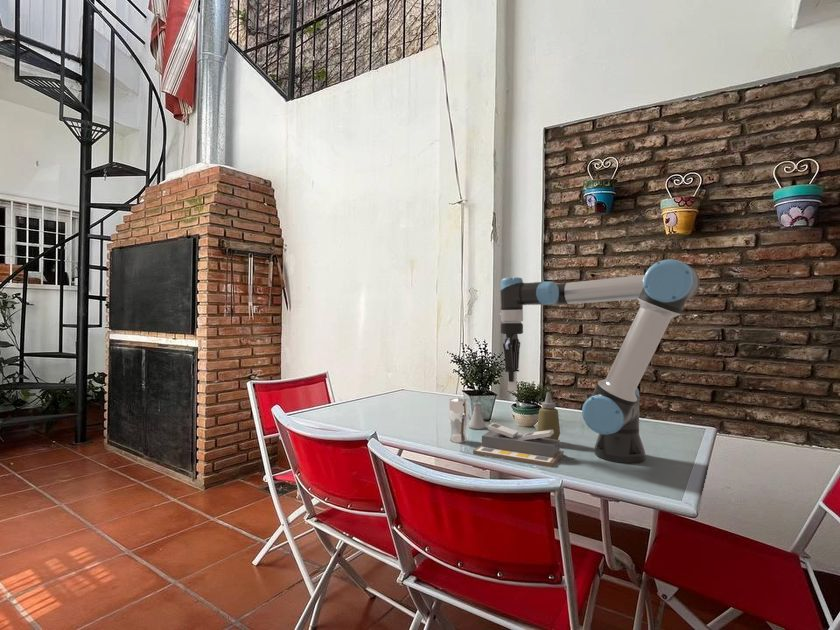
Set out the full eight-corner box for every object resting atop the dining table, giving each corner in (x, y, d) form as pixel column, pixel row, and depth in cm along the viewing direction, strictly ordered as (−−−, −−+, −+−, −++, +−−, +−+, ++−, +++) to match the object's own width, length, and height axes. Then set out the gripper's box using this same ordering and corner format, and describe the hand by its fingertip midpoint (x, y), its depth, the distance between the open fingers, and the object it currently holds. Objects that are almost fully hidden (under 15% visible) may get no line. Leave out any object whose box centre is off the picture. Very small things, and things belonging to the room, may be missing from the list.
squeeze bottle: (563, 442, 166) (563, 392, 166) (556, 447, 159) (556, 395, 159) (541, 438, 170) (541, 390, 170) (533, 443, 164) (533, 393, 164)
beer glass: (452, 444, 163) (452, 401, 163) (446, 439, 170) (446, 398, 170) (471, 442, 165) (471, 401, 165) (464, 437, 172) (464, 397, 172)
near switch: (553, 433, 149) (552, 429, 150) (549, 436, 145) (548, 432, 145) (527, 436, 154) (526, 432, 154) (523, 440, 150) (522, 436, 150)
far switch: (517, 434, 156) (518, 431, 155) (512, 438, 151) (513, 434, 151) (492, 426, 160) (493, 422, 160) (487, 429, 156) (488, 425, 156)
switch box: (563, 454, 150) (563, 437, 150) (552, 467, 138) (552, 448, 138) (488, 443, 163) (489, 427, 163) (473, 453, 151) (473, 436, 151)
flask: (472, 430, 183) (472, 405, 183) (465, 426, 190) (465, 401, 190) (489, 429, 185) (489, 404, 185) (481, 425, 192) (481, 401, 192)
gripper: (506, 322, 166) (507, 387, 166) (495, 322, 155) (495, 392, 154) (527, 322, 163) (528, 388, 162) (517, 322, 151) (517, 394, 151)
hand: (512, 390), depth 158 cm, fingers closed
